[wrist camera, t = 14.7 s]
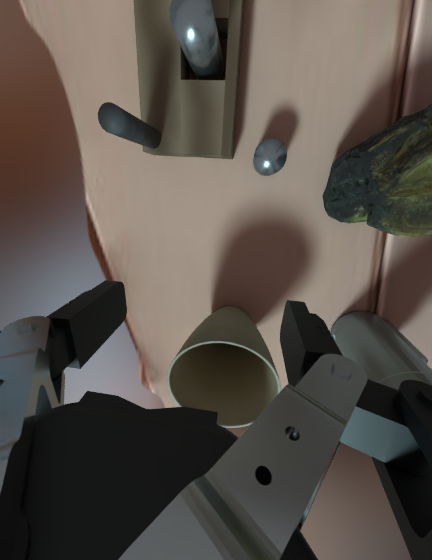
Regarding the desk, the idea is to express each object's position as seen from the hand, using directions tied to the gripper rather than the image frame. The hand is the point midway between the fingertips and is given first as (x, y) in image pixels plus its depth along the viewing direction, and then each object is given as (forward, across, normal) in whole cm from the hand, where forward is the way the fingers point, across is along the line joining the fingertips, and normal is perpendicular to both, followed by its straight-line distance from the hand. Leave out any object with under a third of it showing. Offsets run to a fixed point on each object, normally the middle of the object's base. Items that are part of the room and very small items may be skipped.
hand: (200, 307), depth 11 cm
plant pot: (+28, -1, +19) cm, 34 cm away
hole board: (+28, +7, -18) cm, 34 cm away
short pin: (+28, -4, -9) cm, 30 cm away
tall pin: (+28, +5, -20) cm, 35 cm away
